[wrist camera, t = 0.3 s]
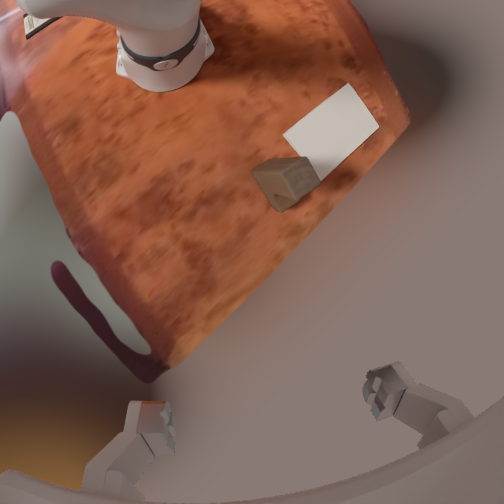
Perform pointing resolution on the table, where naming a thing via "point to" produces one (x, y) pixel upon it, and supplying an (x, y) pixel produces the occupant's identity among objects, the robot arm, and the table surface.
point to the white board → (332, 130)
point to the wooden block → (286, 180)
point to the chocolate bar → (36, 24)
